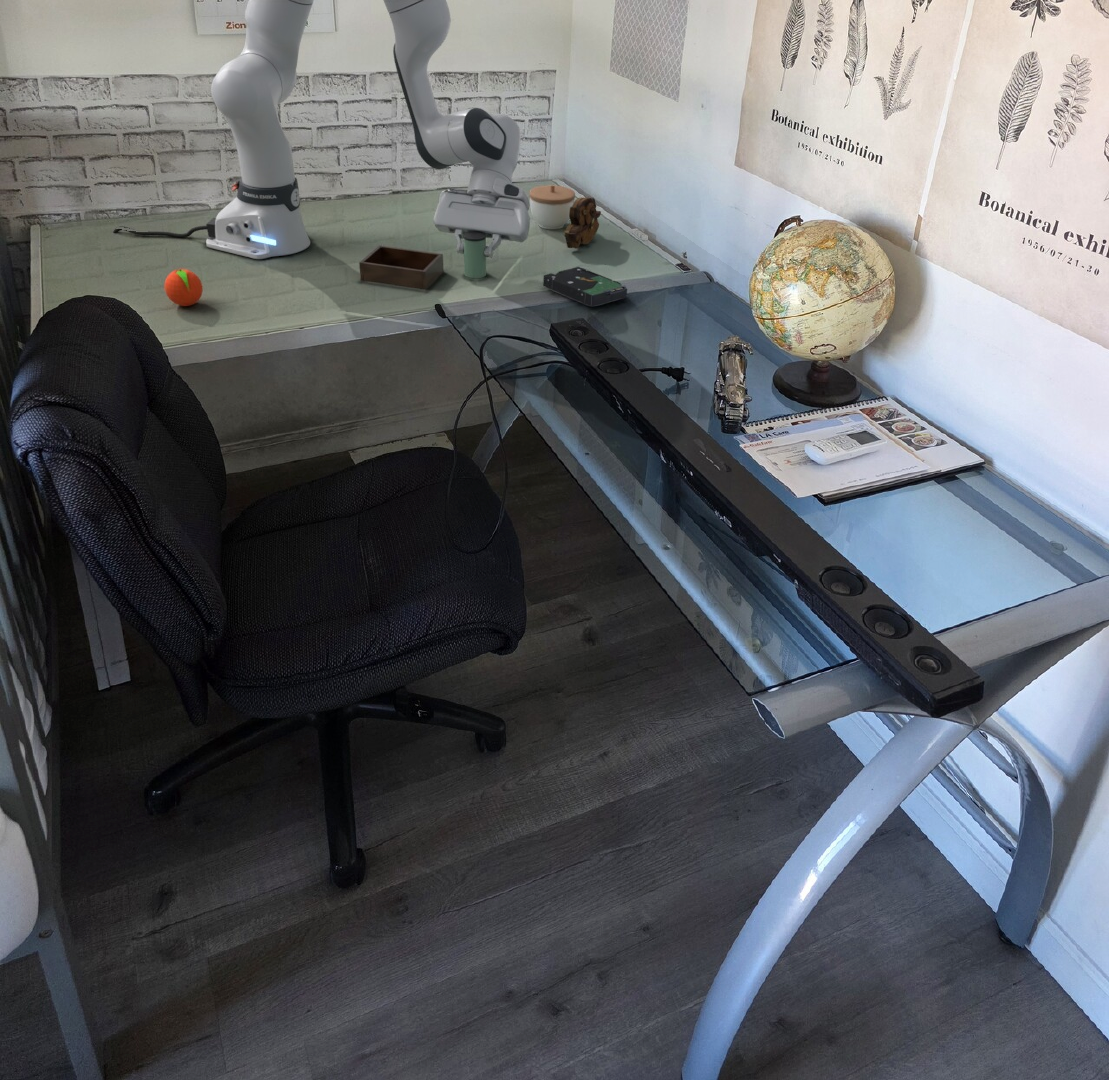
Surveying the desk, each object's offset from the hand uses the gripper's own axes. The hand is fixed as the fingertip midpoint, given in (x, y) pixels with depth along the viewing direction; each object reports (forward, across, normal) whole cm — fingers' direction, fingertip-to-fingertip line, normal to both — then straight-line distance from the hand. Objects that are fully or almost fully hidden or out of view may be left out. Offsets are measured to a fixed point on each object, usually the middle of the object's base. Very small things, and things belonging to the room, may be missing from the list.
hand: (474, 254), depth 207 cm
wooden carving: (-16, +17, +23) cm, 33 cm away
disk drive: (+4, +24, +3) cm, 25 cm away
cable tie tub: (+3, 0, +4) cm, 5 cm away
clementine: (+26, -48, -19) cm, 58 cm away
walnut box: (+7, -14, 0) cm, 16 cm away
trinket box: (-22, +7, +30) cm, 38 cm away
